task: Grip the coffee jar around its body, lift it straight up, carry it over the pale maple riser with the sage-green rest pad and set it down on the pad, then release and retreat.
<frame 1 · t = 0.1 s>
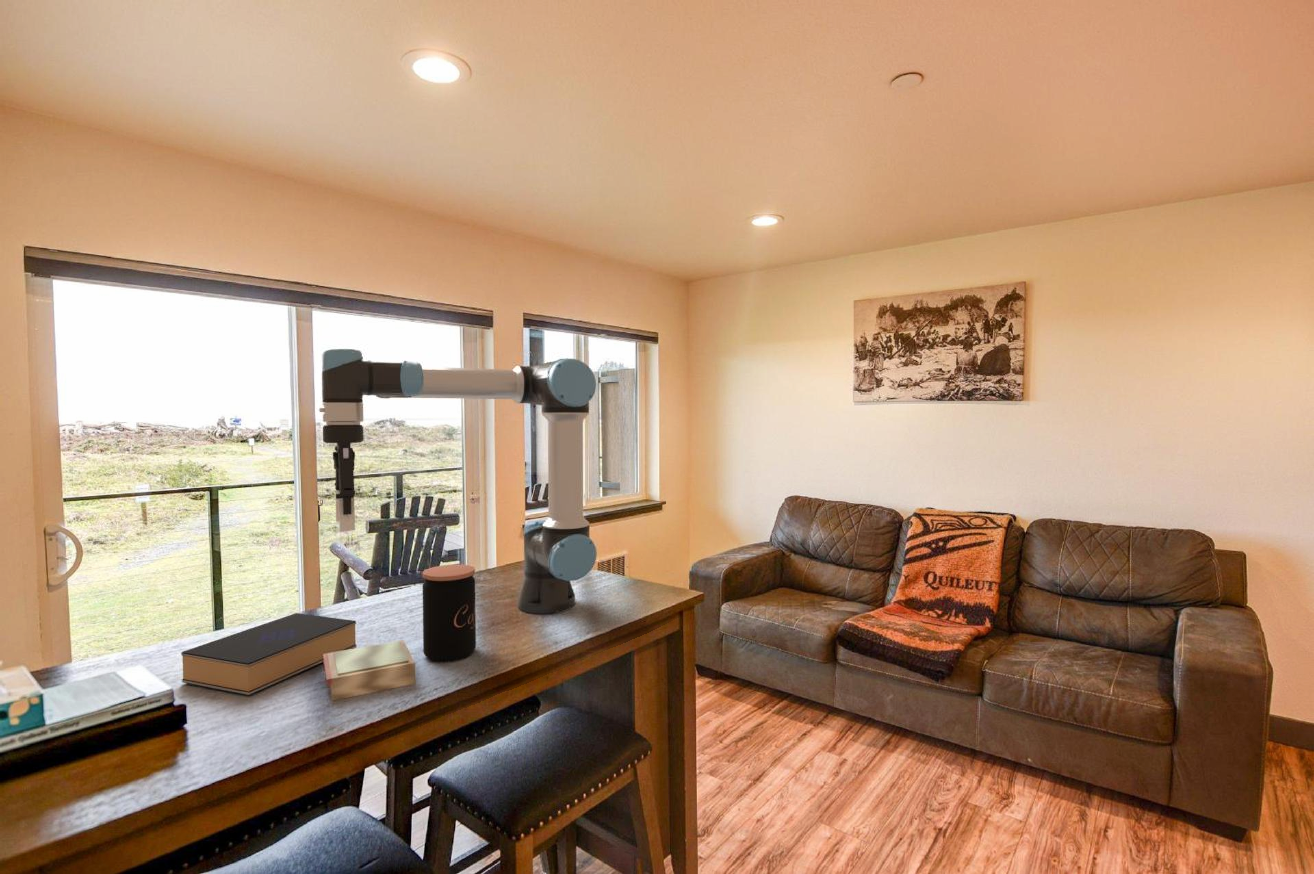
hand: (345, 525, 130), 28 cm above the table, fingers open, 13 cm apart
book: (275, 668, 127), on the table
riser: (370, 678, 120), on the table
coffee jar: (450, 654, 133), on the table
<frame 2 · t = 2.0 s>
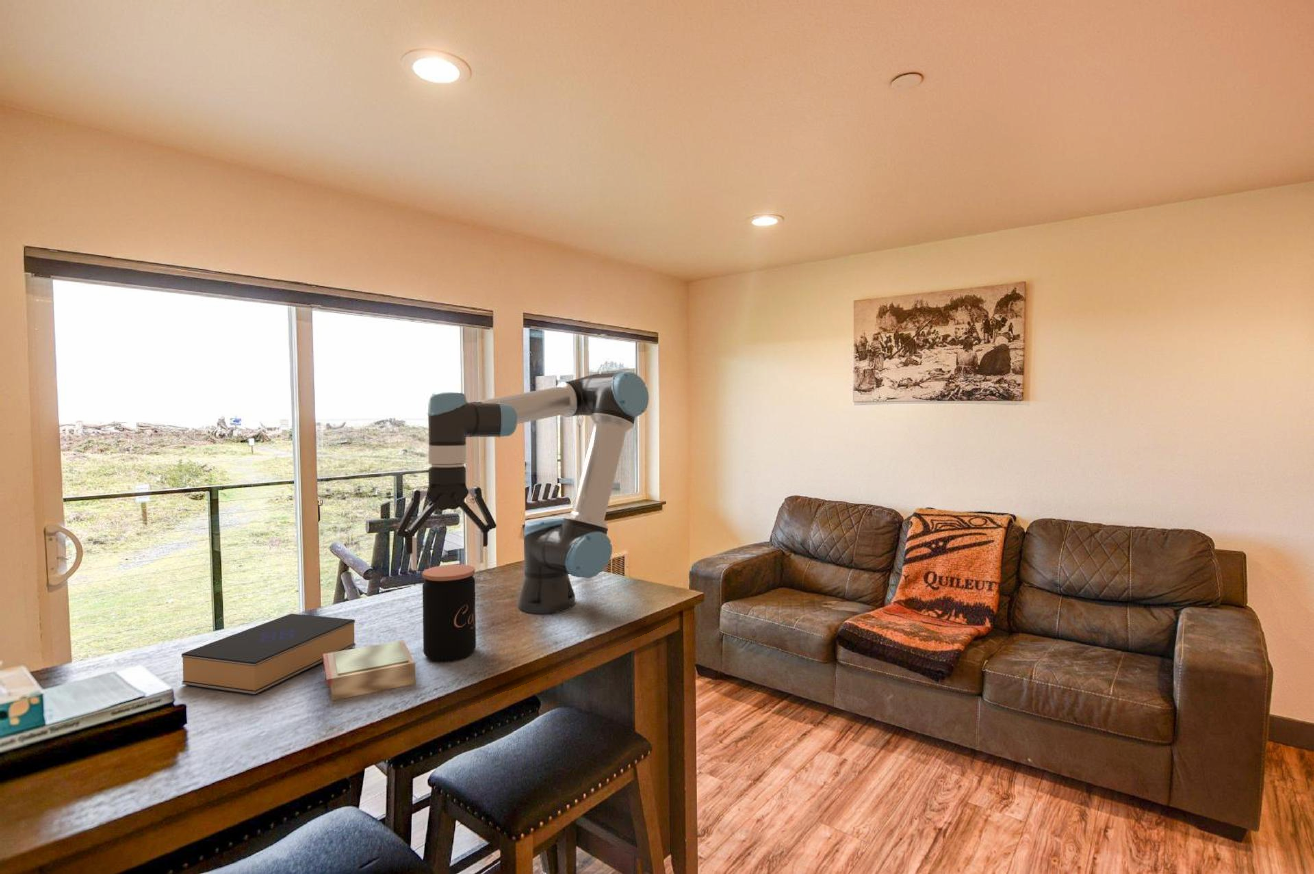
hand: (447, 565, 132), 19 cm above the table, fingers open, 13 cm apart
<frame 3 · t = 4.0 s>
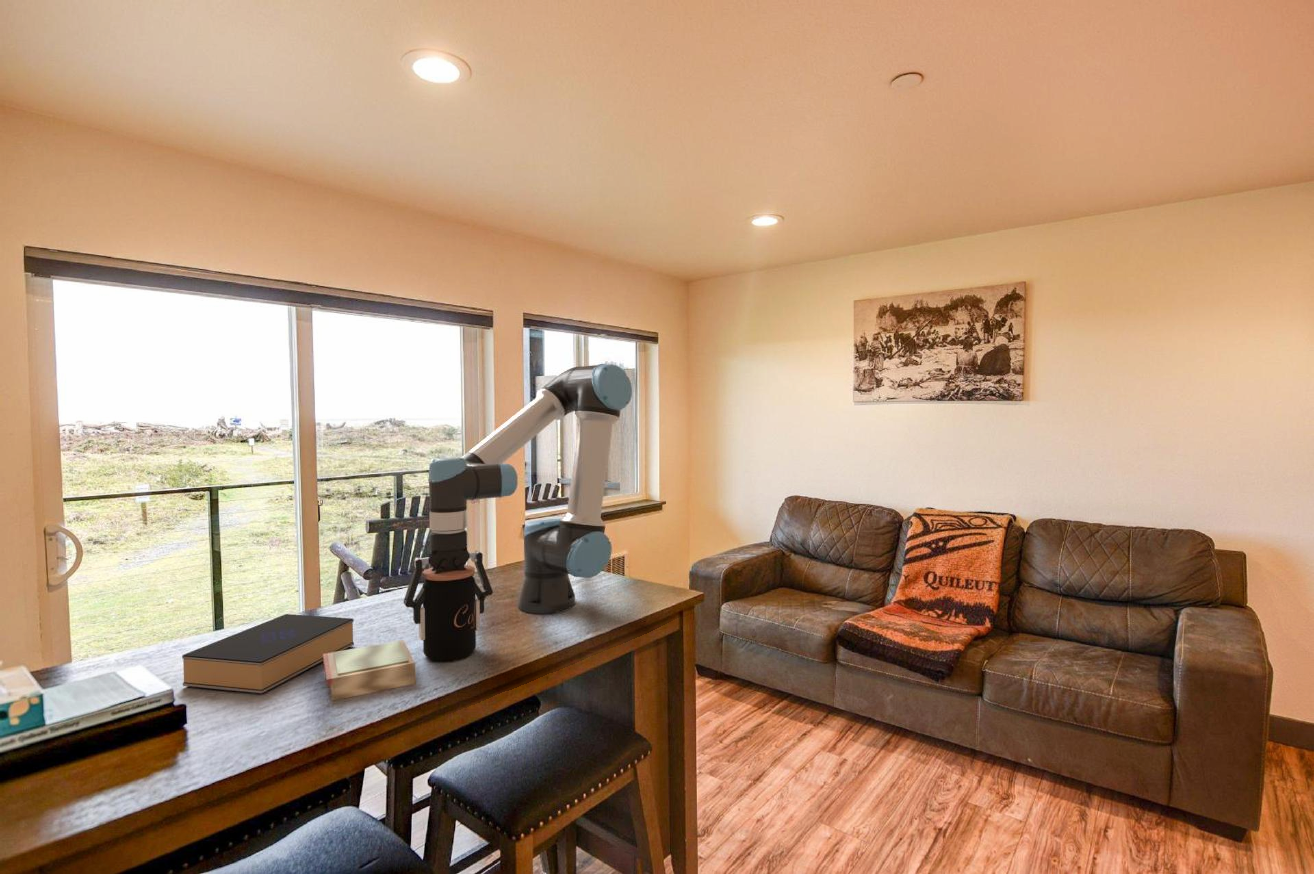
hand: (449, 633, 133), 4 cm above the table, fingers closed on coffee jar, 11 cm apart
coffee jar: (450, 654, 133), on the table, touching gripper
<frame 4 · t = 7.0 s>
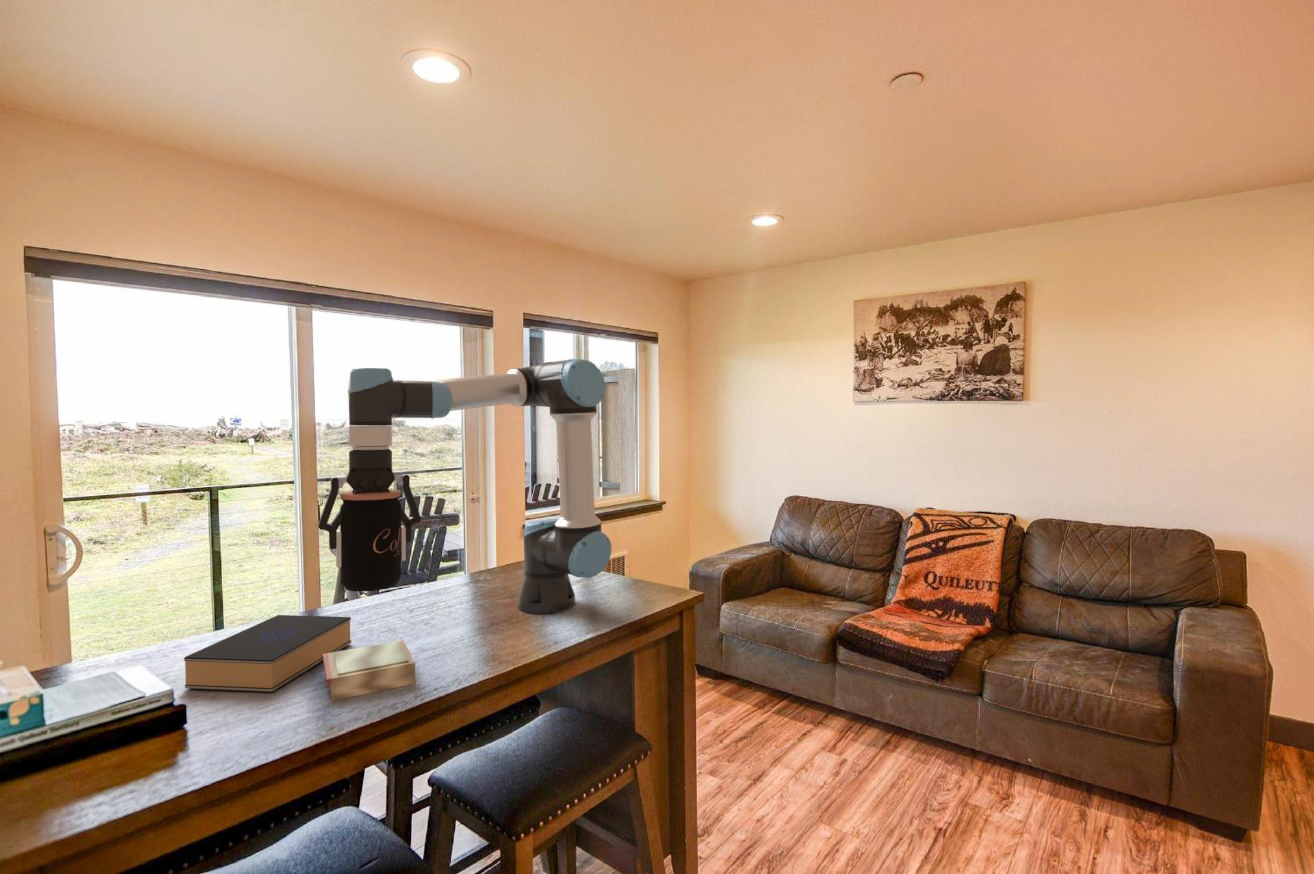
hand: (371, 562, 120), 22 cm above the table, fingers closed on coffee jar, 11 cm apart
coffee jar: (371, 586, 120), point 18 cm above the table, touching gripper
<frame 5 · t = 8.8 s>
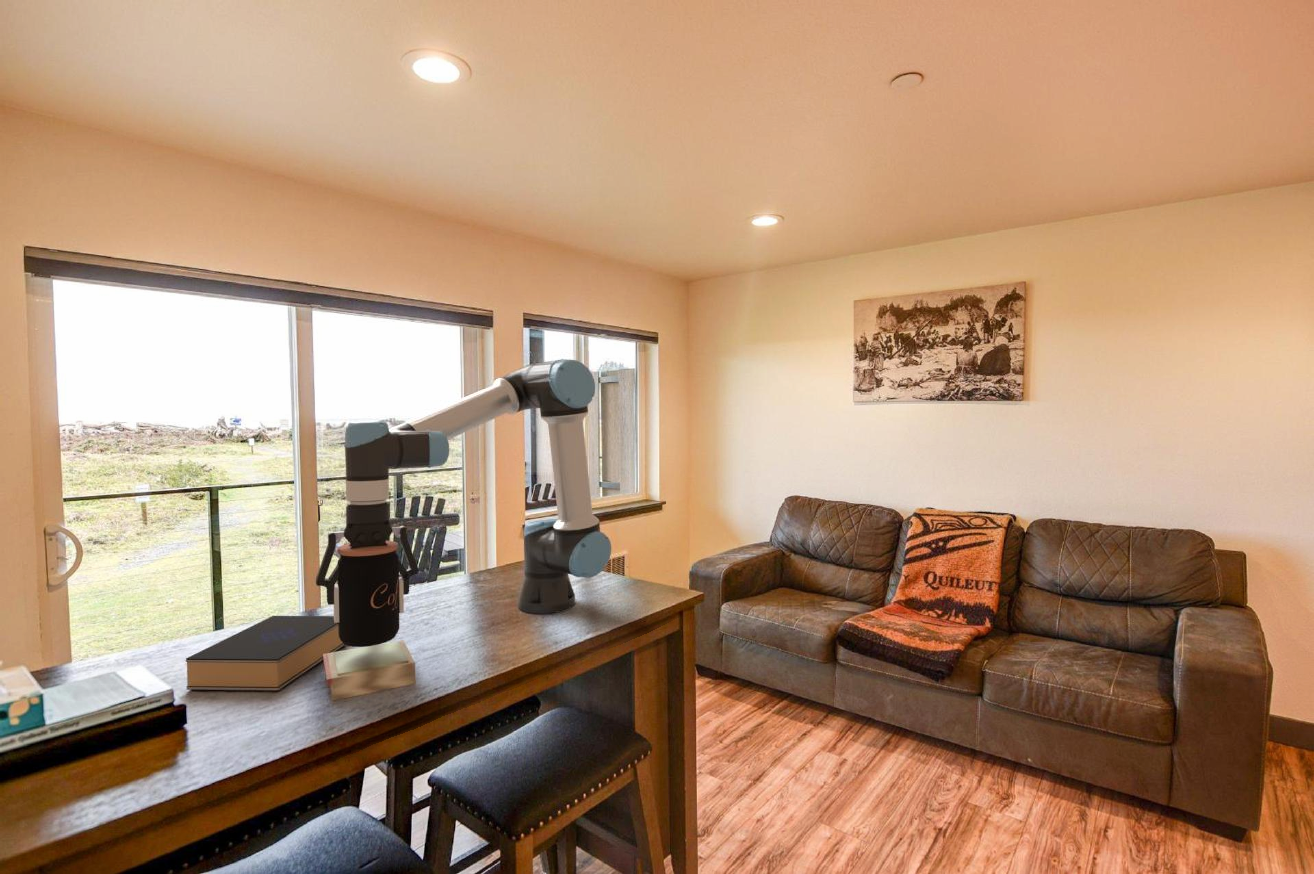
hand: (369, 615, 120), 12 cm above the table, fingers closed on coffee jar, 11 cm apart
coffee jar: (369, 639, 120), point 8 cm above the table, touching gripper
when the fingers open (10 cm above the table, at t = 10.3 s): coffee jar drops 1 cm, resting on riser.
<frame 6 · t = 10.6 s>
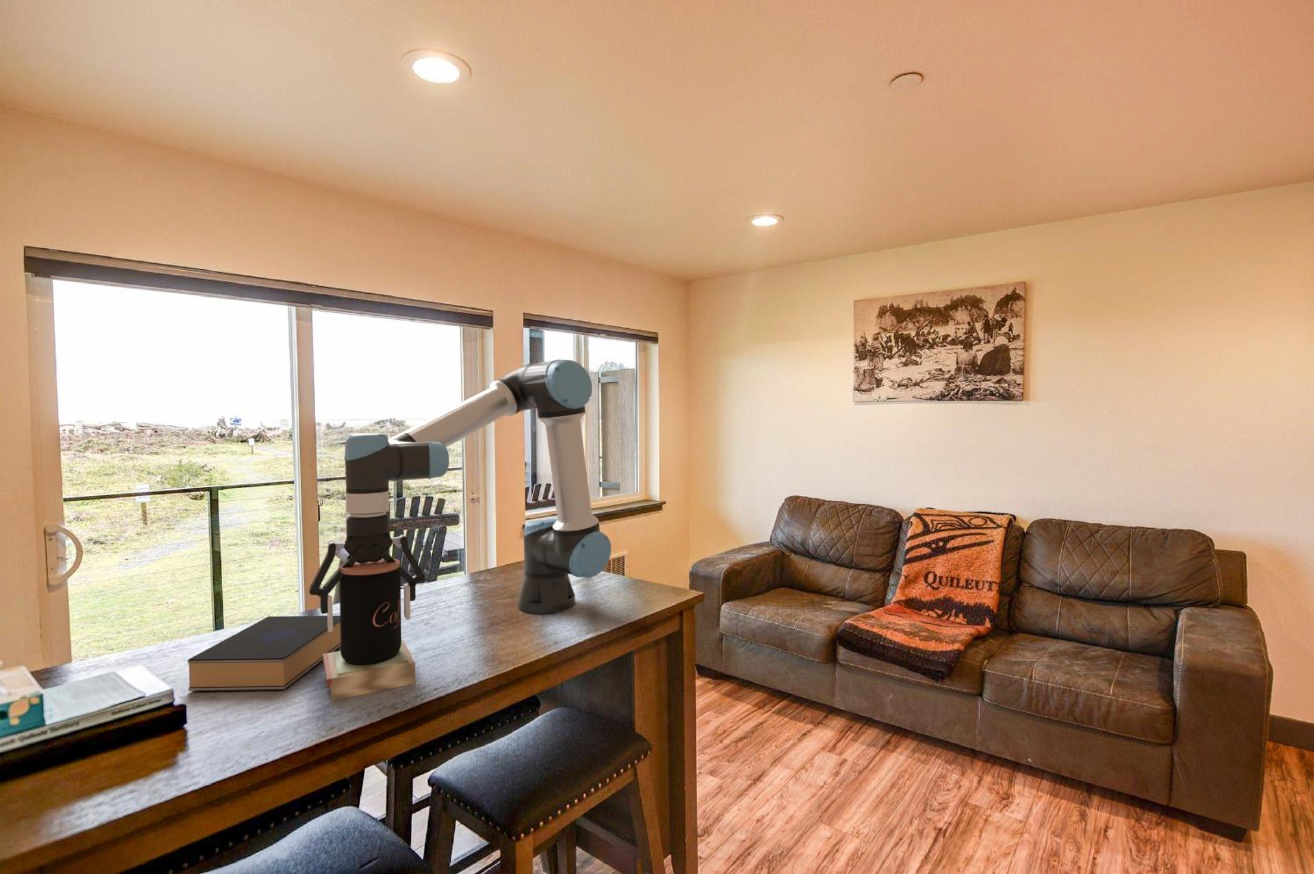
hand: (369, 623, 120), 11 cm above the table, fingers open, 13 cm apart
coffee jar: (371, 656, 120), point 4 cm above the table, touching riser
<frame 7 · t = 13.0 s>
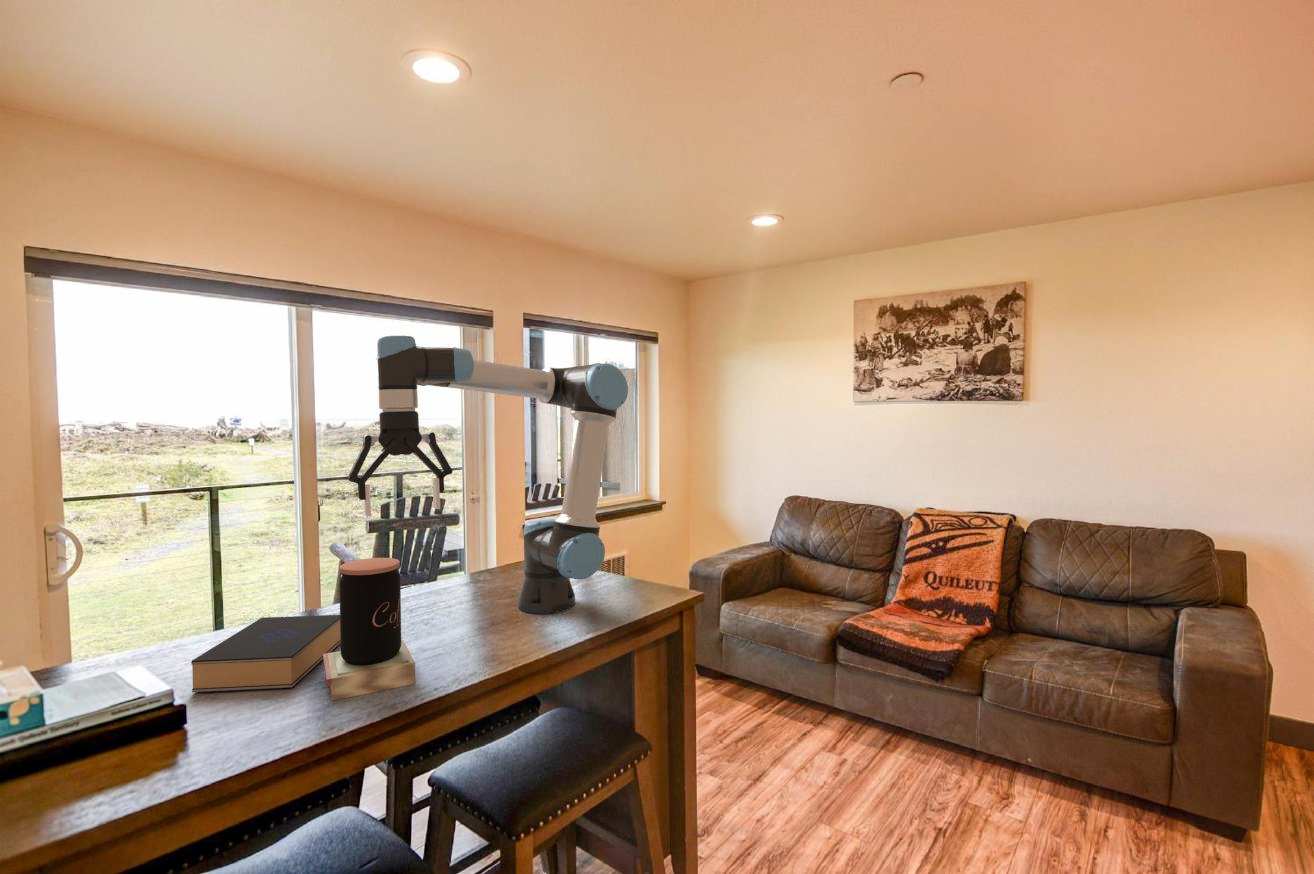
hand: (403, 512, 131), 31 cm above the table, fingers open, 13 cm apart
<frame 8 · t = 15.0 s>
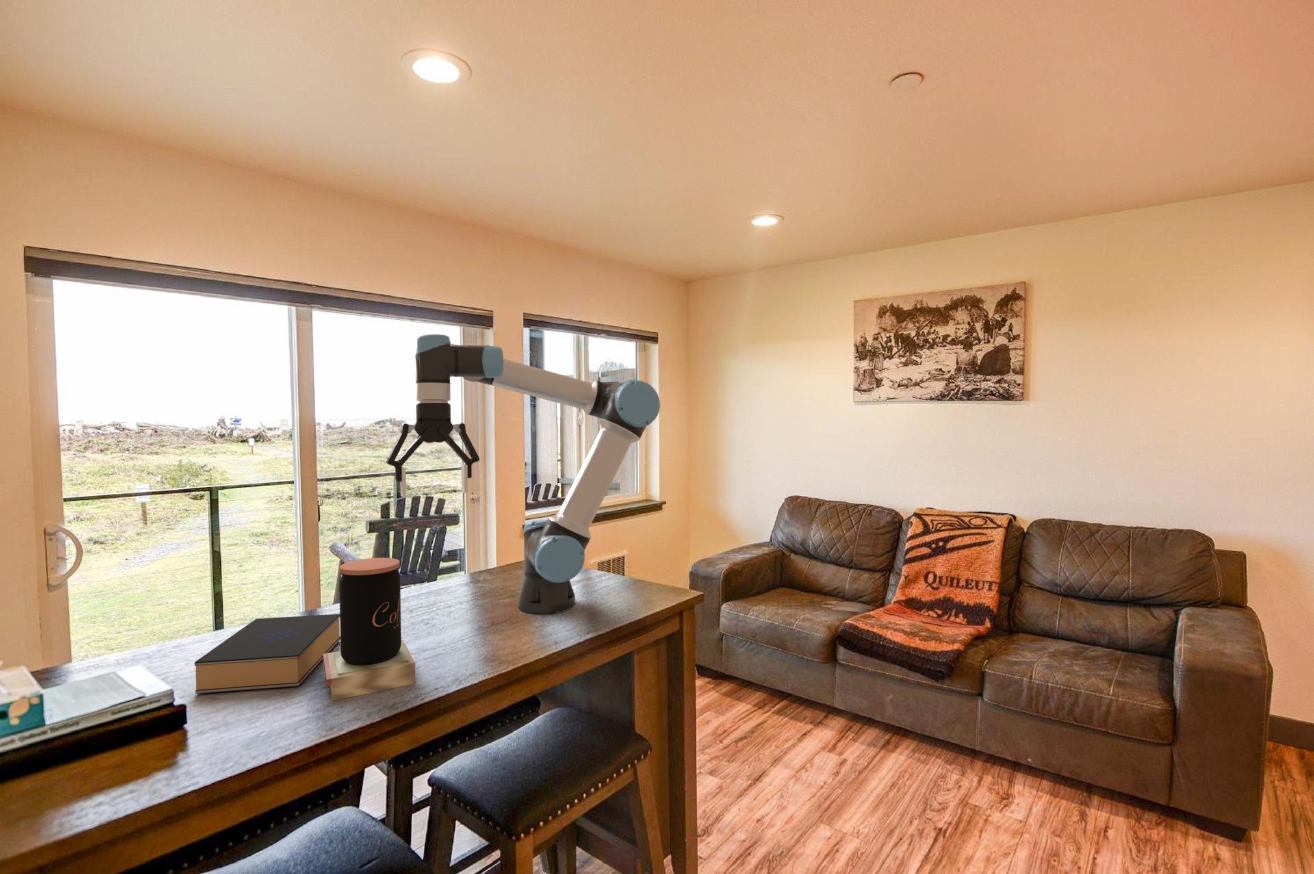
hand: (434, 494, 144), 33 cm above the table, fingers open, 13 cm apart
at the end: coffee jar inside the target area on the riser (0.2 cm from its centre), point 4.1 cm above the riser's base; coffee jar tilted 0°; the gripper is holding nothing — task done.
